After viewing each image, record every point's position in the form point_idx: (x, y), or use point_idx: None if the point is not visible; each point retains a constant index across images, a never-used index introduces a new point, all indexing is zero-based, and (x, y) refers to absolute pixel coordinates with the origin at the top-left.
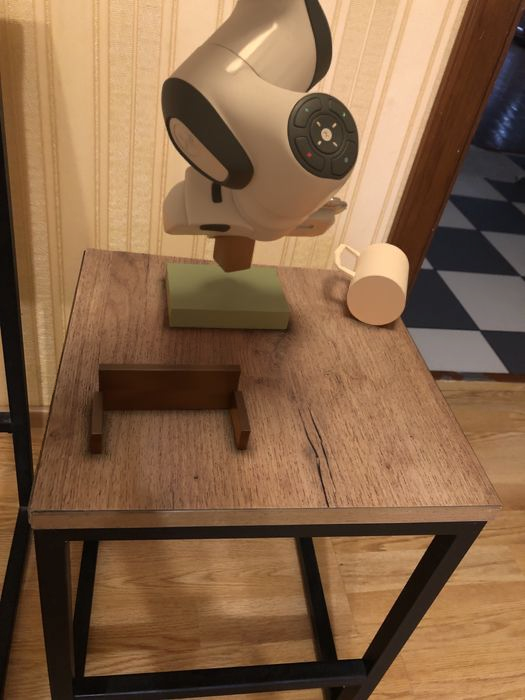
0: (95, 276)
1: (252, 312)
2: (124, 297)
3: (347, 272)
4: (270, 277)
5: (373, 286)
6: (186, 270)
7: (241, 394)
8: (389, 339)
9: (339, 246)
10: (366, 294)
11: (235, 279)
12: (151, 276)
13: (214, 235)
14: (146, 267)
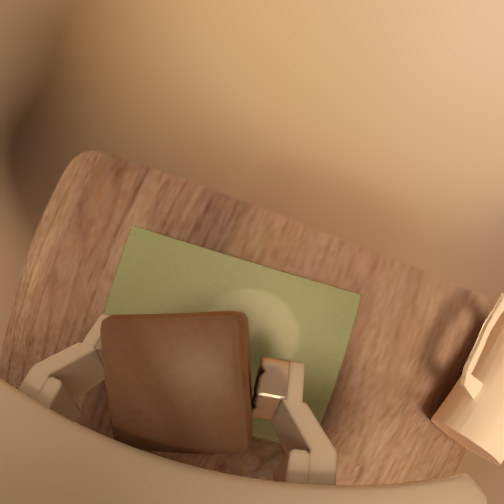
0: (59, 204)
1: None
2: (71, 269)
3: (470, 392)
4: (333, 330)
5: (475, 446)
6: (157, 262)
7: None
8: (442, 462)
9: (500, 304)
10: (461, 438)
11: (249, 321)
12: (129, 219)
13: (103, 379)
14: (134, 191)
